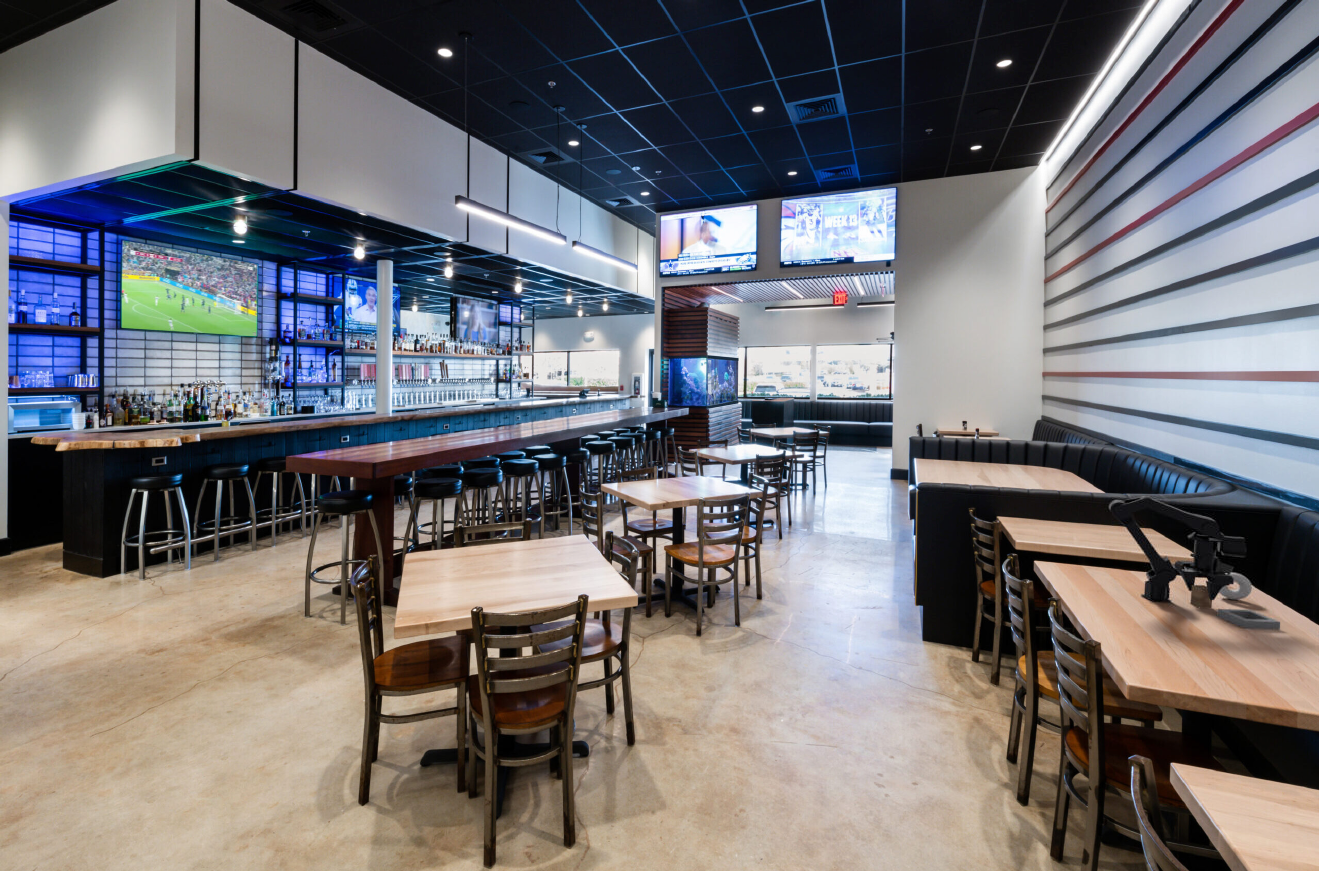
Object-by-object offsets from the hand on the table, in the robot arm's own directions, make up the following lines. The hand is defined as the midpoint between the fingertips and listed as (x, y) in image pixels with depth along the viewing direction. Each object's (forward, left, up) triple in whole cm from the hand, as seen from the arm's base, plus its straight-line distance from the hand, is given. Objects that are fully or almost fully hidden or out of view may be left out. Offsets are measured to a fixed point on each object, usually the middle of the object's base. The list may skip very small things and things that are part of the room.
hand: (1201, 595), depth 215 cm
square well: (+3, -15, -4) cm, 16 cm away
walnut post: (0, 0, -4) cm, 4 cm away
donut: (+17, +8, -4) cm, 19 cm away
